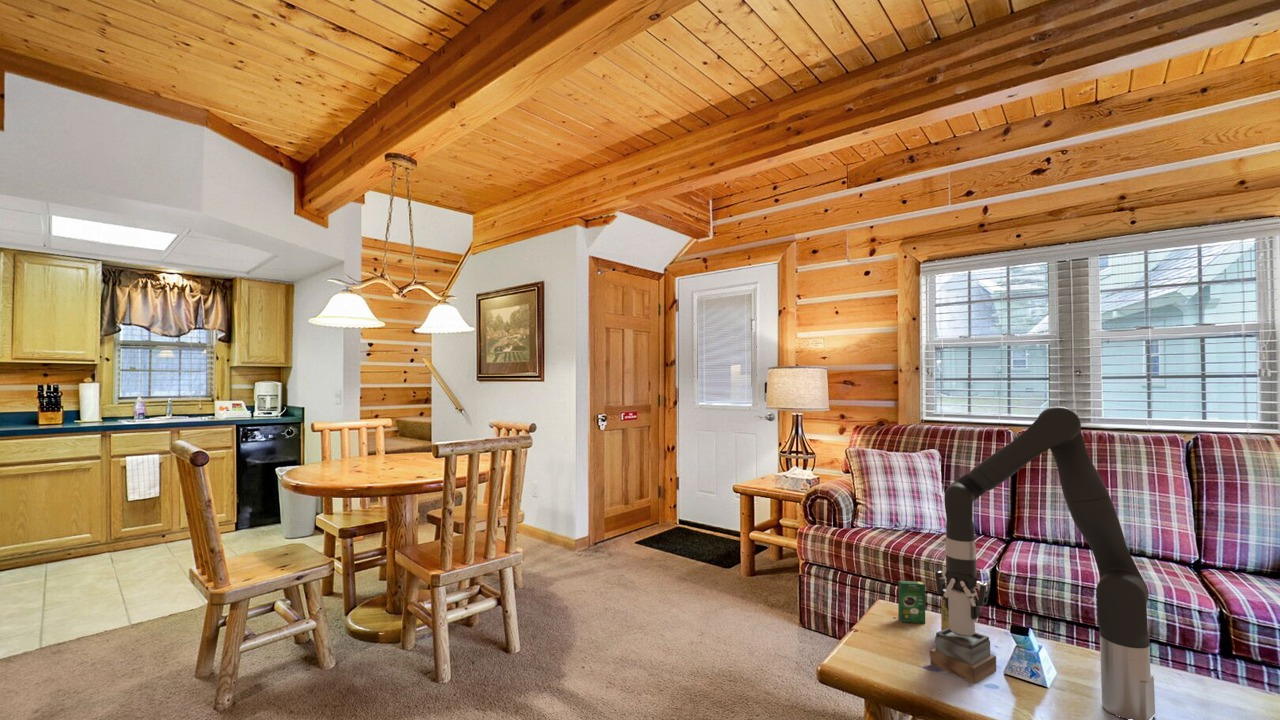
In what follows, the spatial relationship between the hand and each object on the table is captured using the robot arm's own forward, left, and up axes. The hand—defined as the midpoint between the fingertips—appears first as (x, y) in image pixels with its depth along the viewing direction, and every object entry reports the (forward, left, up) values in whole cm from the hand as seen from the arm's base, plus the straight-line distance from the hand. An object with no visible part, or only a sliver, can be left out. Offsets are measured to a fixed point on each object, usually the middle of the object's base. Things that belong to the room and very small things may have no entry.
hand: (962, 614), depth 158 cm
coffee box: (+25, -17, -15) cm, 34 cm away
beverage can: (0, 0, -5) cm, 5 cm away
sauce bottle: (+11, -16, -15) cm, 24 cm away
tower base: (0, 0, -15) cm, 15 cm away
